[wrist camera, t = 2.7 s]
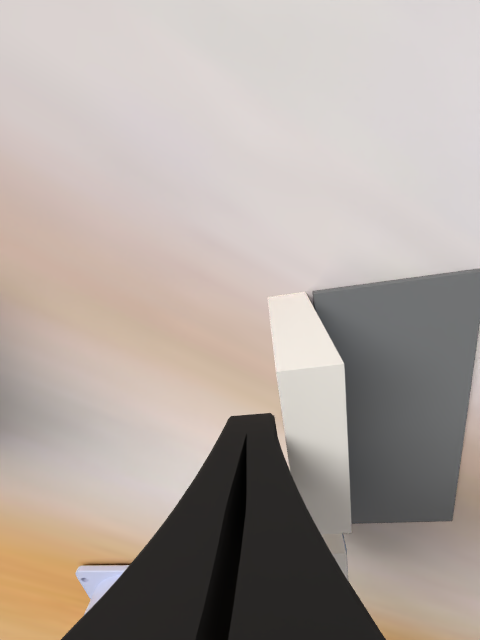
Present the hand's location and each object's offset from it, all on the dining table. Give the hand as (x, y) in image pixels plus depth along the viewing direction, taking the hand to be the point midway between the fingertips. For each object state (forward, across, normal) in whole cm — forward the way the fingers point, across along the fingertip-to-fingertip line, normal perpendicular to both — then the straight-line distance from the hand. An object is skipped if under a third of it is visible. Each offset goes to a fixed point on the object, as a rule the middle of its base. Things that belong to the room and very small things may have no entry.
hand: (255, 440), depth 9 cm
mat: (+5, -6, +4) cm, 9 cm away
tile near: (+5, -2, 0) cm, 5 cm away
